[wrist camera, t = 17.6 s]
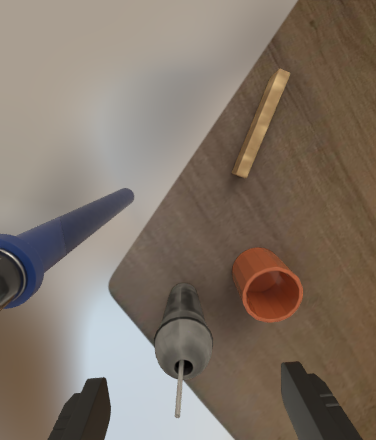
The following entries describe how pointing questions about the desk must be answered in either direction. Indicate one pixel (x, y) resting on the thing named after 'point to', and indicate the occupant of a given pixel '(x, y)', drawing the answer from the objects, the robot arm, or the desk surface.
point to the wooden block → (260, 123)
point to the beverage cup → (183, 338)
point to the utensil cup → (266, 285)
